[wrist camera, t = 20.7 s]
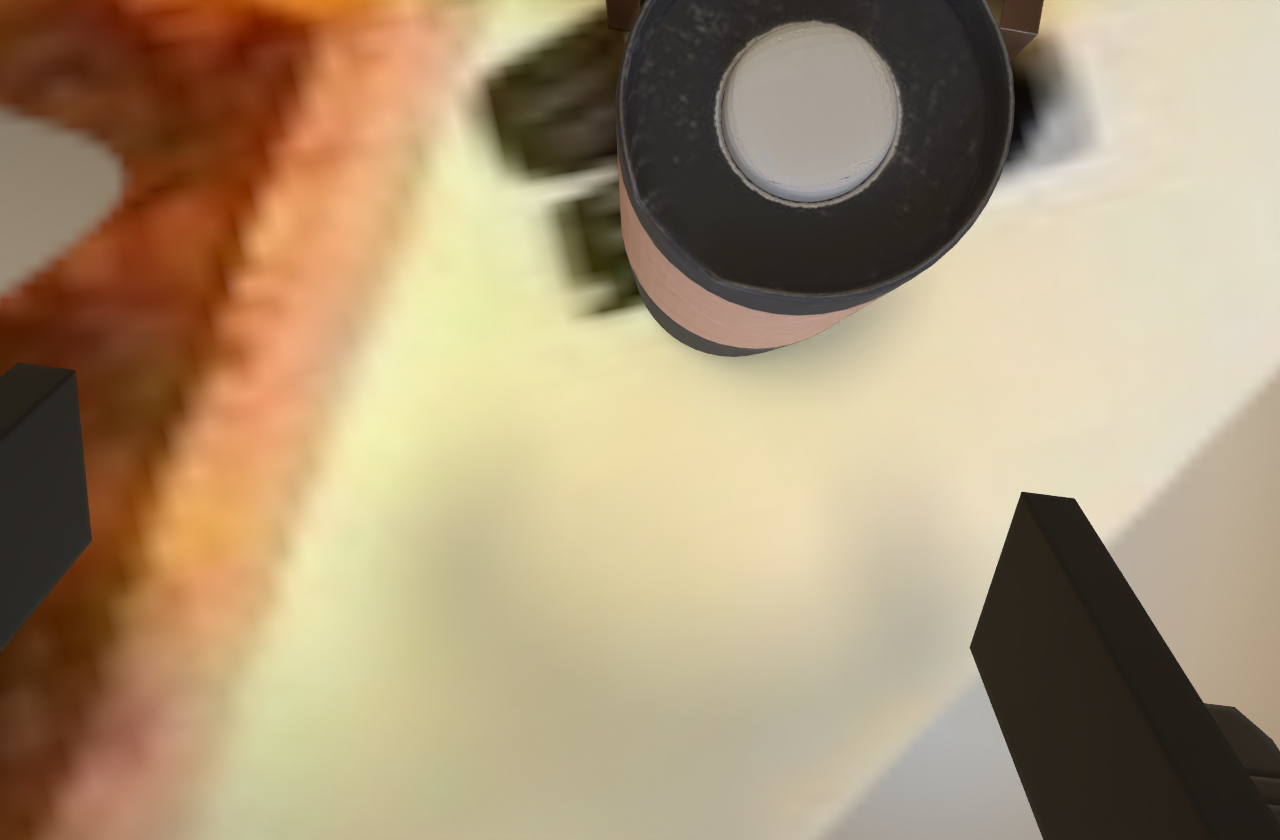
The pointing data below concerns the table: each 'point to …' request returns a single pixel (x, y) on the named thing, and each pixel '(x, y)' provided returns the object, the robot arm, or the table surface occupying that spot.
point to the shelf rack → (1010, 3)
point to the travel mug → (801, 156)
